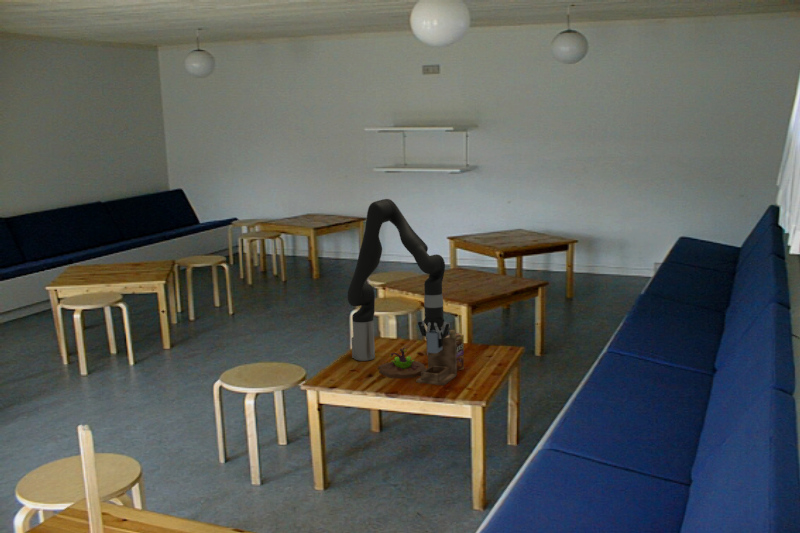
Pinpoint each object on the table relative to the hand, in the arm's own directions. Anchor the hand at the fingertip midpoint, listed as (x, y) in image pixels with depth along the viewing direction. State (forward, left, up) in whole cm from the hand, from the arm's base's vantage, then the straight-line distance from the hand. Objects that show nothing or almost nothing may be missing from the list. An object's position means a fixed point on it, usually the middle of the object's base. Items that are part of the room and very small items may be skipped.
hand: (434, 346), depth 301 cm
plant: (-17, +5, -14) cm, 23 cm away
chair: (0, +1, -14) cm, 14 cm away
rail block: (0, 0, -2) cm, 2 cm away
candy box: (+2, +14, -14) cm, 20 cm away
